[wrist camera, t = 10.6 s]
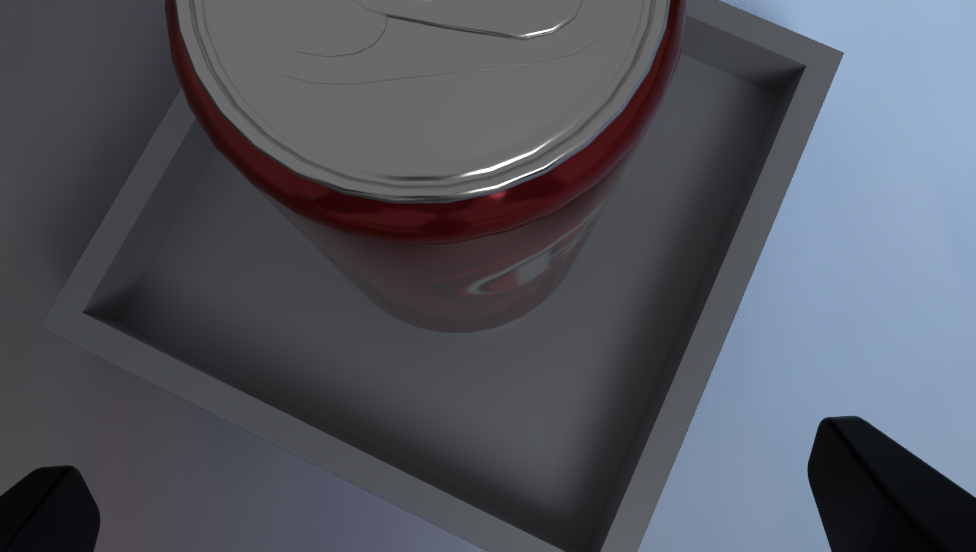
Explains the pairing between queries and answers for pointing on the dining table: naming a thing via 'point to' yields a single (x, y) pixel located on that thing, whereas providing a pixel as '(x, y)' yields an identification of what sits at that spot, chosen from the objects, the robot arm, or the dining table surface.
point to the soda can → (432, 132)
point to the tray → (479, 355)
